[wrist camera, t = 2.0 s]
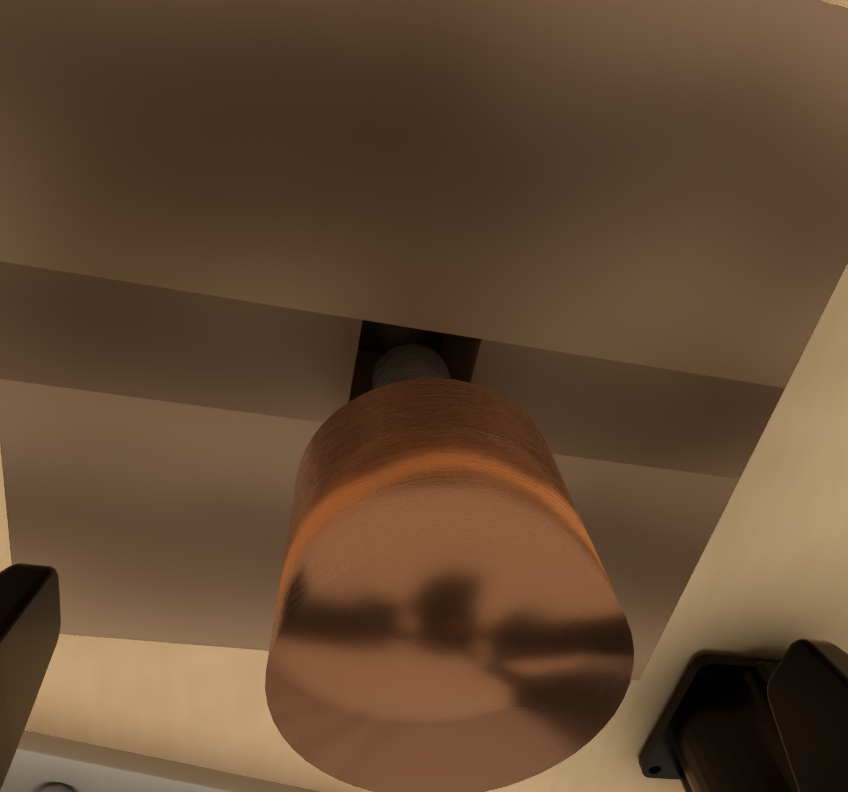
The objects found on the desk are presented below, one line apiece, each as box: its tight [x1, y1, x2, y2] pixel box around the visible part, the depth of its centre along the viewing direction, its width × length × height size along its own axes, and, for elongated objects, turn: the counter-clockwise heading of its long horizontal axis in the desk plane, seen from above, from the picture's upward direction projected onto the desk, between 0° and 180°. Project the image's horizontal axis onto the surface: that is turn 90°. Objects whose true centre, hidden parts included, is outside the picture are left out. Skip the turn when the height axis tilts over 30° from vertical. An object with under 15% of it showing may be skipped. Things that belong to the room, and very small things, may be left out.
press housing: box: [0, 0, 848, 680], centre depth 15 cm, size 16×16×4 cm
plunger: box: [265, 344, 634, 792], centre depth 11 cm, size 4×4×8 cm
